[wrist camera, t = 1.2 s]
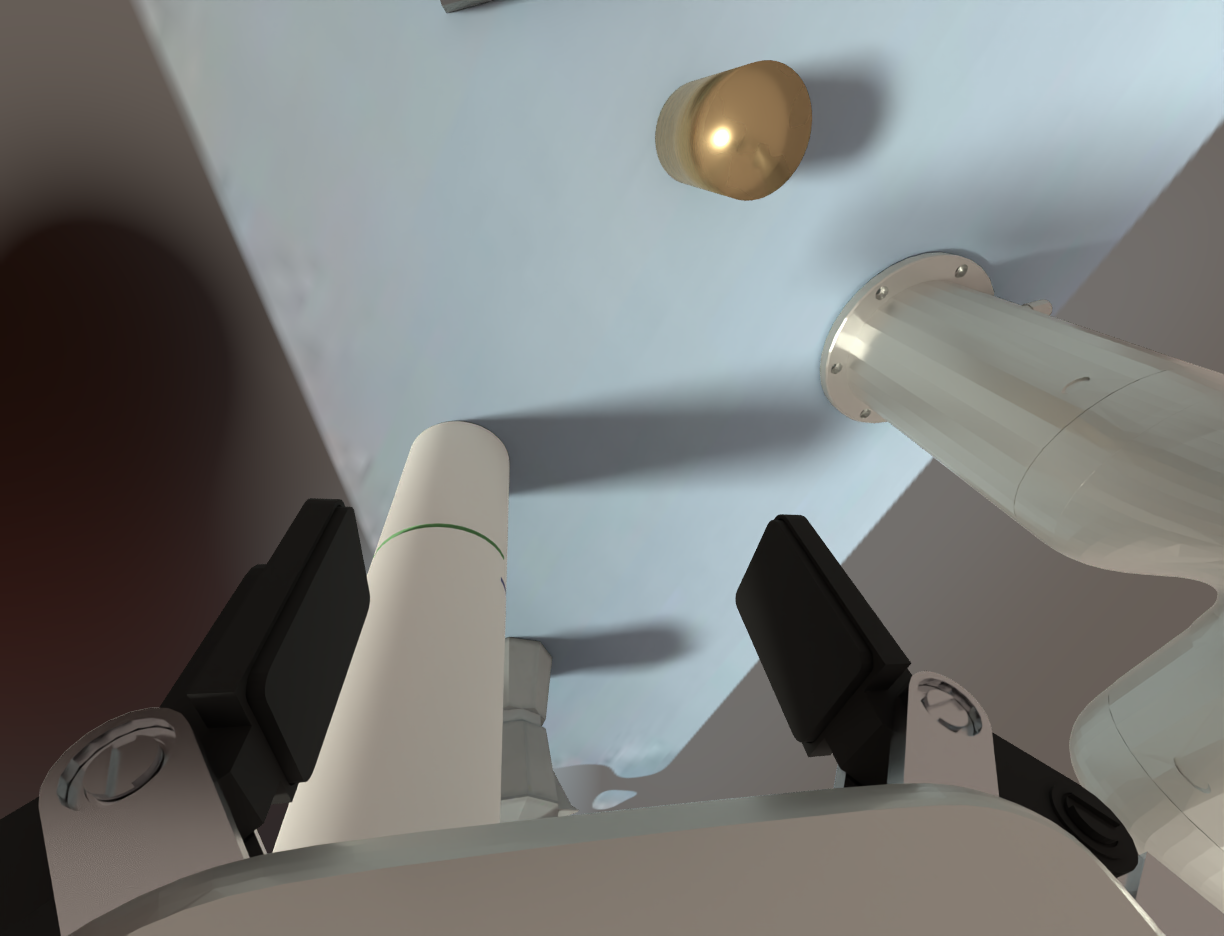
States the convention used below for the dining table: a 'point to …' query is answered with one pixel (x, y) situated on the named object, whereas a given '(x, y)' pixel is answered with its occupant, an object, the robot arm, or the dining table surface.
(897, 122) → the dining table surface
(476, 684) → the cylindrical container
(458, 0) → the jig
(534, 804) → the coffee maker
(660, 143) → the gold round-topped cylinder
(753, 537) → the dining table surface
